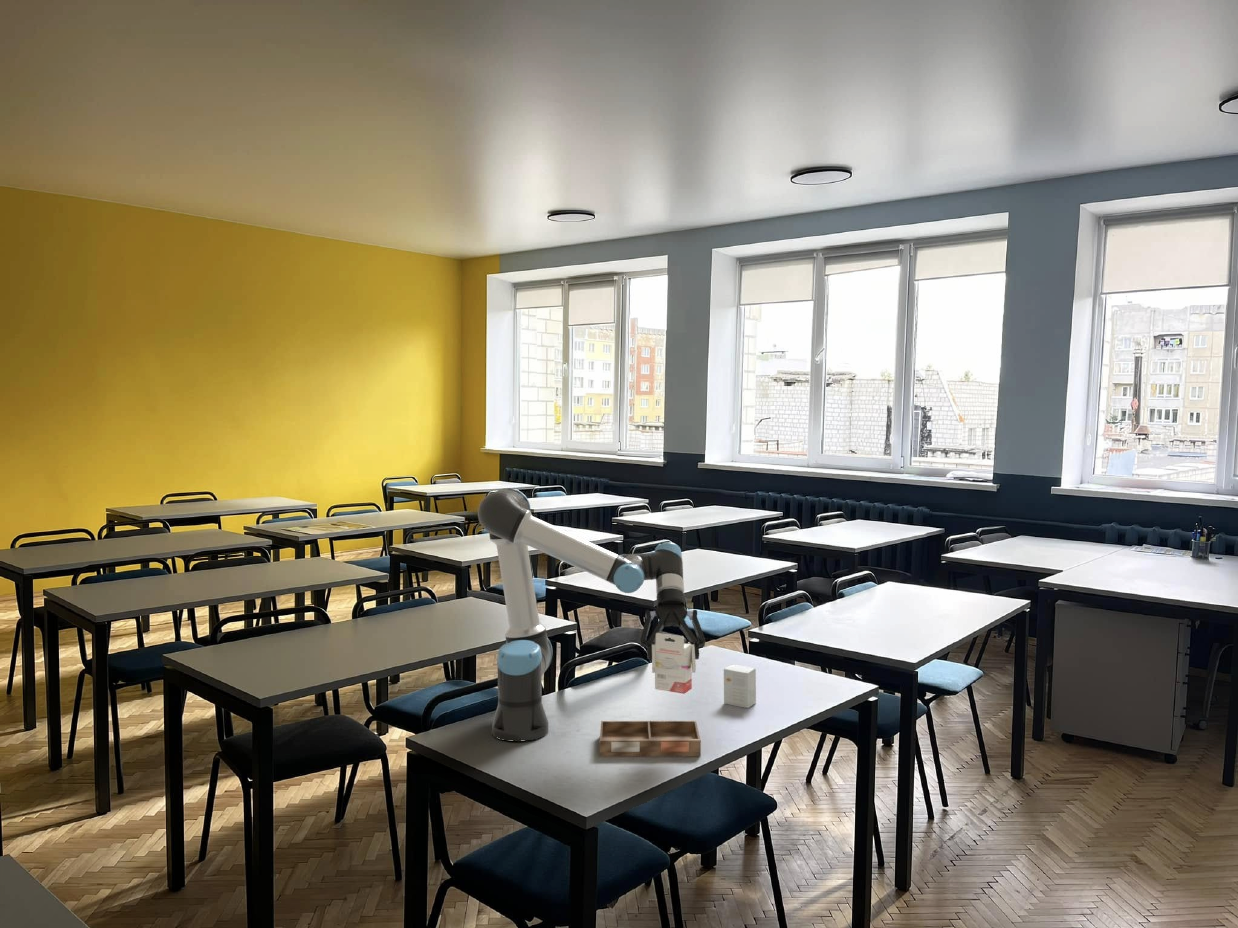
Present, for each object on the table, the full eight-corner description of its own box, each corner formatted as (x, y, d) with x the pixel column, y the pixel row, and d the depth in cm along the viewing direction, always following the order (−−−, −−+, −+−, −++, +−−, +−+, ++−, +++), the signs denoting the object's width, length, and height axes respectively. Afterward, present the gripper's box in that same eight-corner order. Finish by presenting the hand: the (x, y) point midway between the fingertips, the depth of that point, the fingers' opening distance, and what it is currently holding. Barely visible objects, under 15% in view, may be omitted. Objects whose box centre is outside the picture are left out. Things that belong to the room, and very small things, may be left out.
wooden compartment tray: (599, 756, 208) (599, 741, 208) (601, 735, 222) (601, 720, 222) (700, 756, 208) (700, 740, 208) (696, 735, 222) (695, 720, 222)
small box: (756, 703, 247) (756, 668, 246) (748, 708, 242) (748, 672, 242) (731, 698, 251) (731, 663, 251) (723, 703, 247) (723, 668, 246)
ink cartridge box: (692, 688, 215) (692, 632, 214) (684, 694, 211) (685, 636, 210) (662, 683, 219) (662, 628, 218) (654, 689, 215) (654, 632, 214)
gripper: (710, 601, 229) (716, 676, 214) (629, 602, 229) (630, 677, 214) (712, 586, 223) (718, 662, 209) (629, 586, 224) (630, 662, 209)
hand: (673, 669), depth 211 cm, fingers closed on ink cartridge box, 9 cm apart
